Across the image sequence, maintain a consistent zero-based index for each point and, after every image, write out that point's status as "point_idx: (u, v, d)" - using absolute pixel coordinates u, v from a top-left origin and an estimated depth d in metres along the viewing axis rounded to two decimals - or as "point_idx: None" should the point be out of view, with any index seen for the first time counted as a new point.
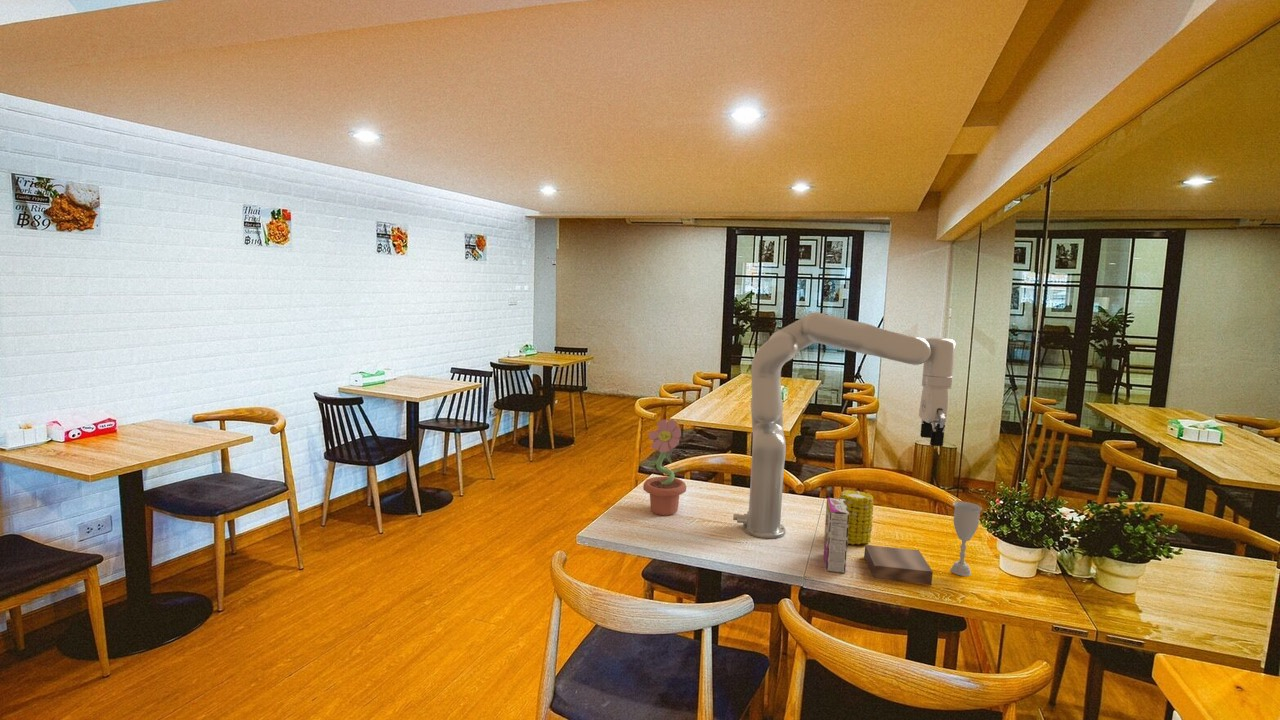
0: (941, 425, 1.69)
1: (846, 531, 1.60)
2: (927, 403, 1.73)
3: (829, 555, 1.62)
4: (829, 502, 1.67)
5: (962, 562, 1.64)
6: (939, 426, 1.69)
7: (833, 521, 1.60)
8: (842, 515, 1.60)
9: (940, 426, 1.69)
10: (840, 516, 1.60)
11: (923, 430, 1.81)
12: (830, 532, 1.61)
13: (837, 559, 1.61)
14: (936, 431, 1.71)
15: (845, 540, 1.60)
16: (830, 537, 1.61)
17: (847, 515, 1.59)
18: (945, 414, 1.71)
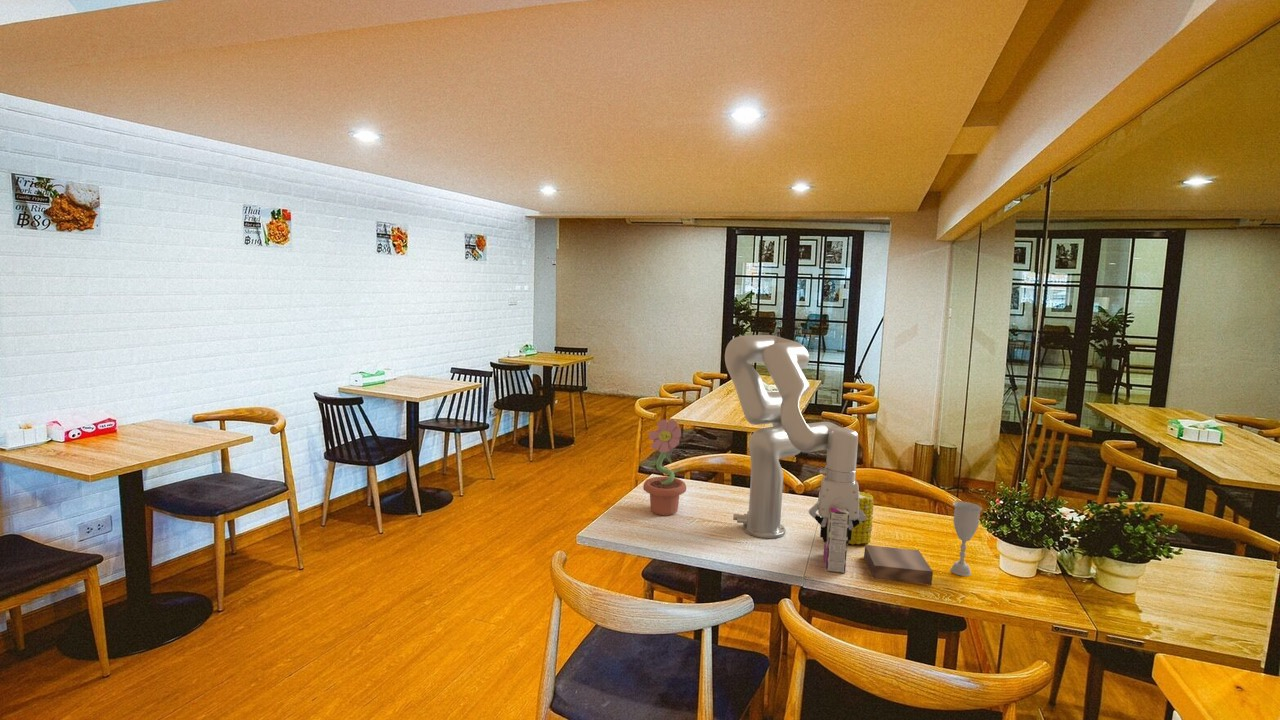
0: None
1: (846, 531, 1.60)
2: (851, 500, 1.62)
3: (829, 555, 1.62)
4: None
5: (962, 562, 1.64)
6: None
7: (833, 521, 1.60)
8: (843, 515, 1.60)
9: None
10: (840, 516, 1.60)
11: None
12: (830, 532, 1.61)
13: (837, 559, 1.61)
14: None
15: (845, 540, 1.60)
16: (830, 537, 1.61)
17: (847, 515, 1.59)
18: None
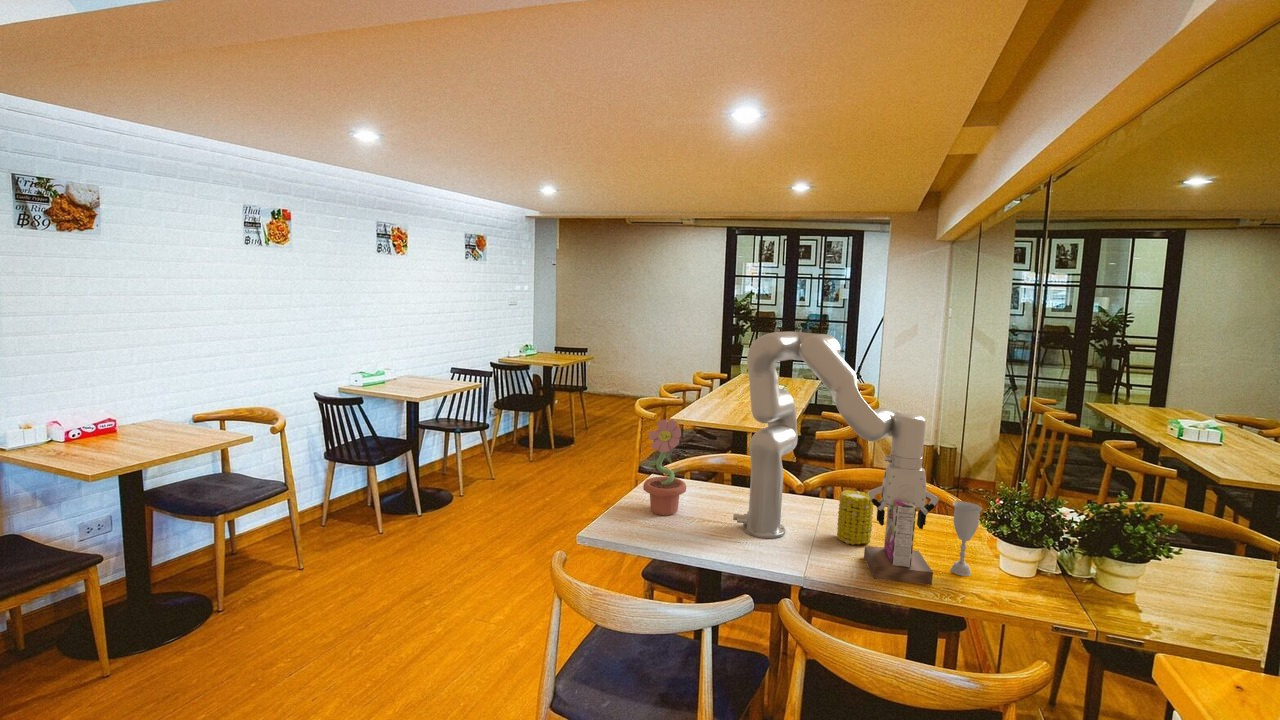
0: None
1: (913, 525, 1.57)
2: (918, 488, 1.58)
3: (894, 550, 1.59)
4: None
5: (962, 562, 1.64)
6: None
7: (899, 514, 1.57)
8: (909, 508, 1.57)
9: None
10: (907, 510, 1.57)
11: (883, 517, 1.62)
12: (896, 526, 1.58)
13: (903, 553, 1.58)
14: None
15: (912, 534, 1.57)
16: (896, 531, 1.58)
17: (914, 508, 1.56)
18: None
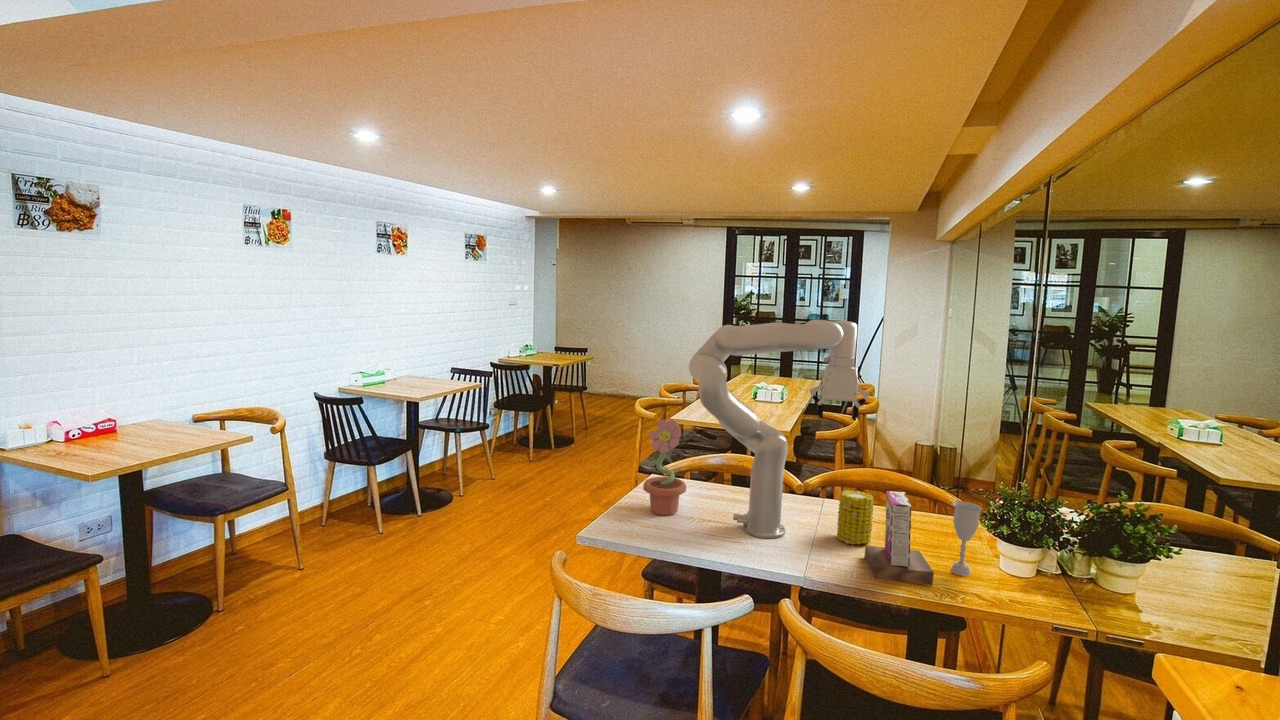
0: None
1: (909, 524, 1.57)
2: (851, 383, 1.84)
3: (892, 549, 1.59)
4: (889, 495, 1.64)
5: (962, 562, 1.64)
6: None
7: (894, 514, 1.57)
8: (904, 507, 1.57)
9: (865, 400, 1.86)
10: (902, 509, 1.57)
11: (822, 411, 1.88)
12: (892, 525, 1.58)
13: (900, 553, 1.58)
14: (859, 406, 1.86)
15: (908, 533, 1.57)
16: (892, 530, 1.58)
17: (909, 508, 1.56)
18: None
